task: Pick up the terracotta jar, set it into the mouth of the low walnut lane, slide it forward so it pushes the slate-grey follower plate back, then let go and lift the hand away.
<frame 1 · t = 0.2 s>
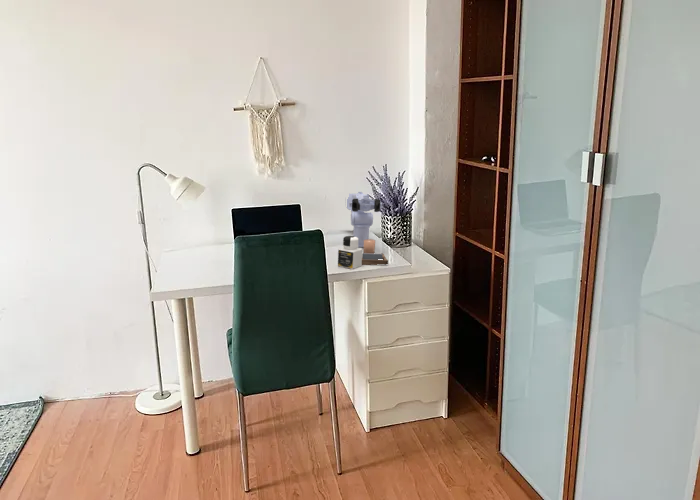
hand: (368, 207, 249), 21 cm above the table, tool horizontal, fingers open, 7 cm apart
terracotta jar: (368, 253, 258), on the table
follower plate: (372, 256, 247), point 1 cm above the table, slide at 0.0 cm
medicine bottle: (349, 266, 236), on the table
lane: (372, 260, 246), on the table
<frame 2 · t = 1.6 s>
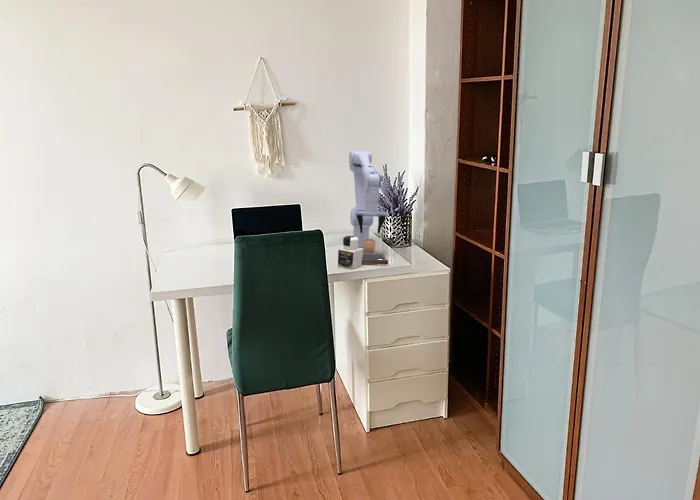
hand: (370, 232, 255), 9 cm above the table, tool pointing down, fingers open, 7 cm apart
nothing on the table moved.
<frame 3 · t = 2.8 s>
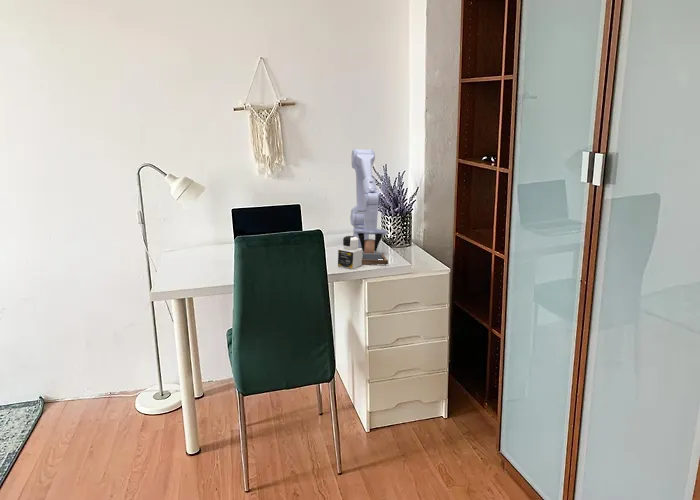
hand: (369, 250, 257), 1 cm above the table, tool pointing down, fingers closed on terracotta jar, 5 cm apart
terracotta jar: (368, 253, 258), on the table, touching gripper
everything else where it was.
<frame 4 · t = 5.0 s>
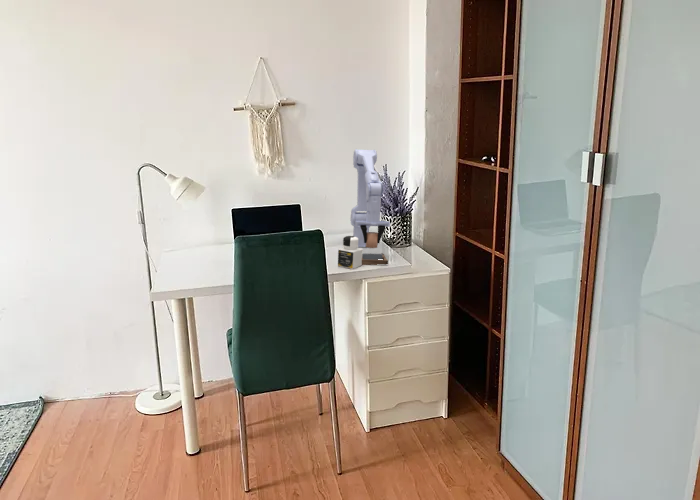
hand: (371, 242, 249), 7 cm above the table, tool pointing down, fingers closed on terracotta jar, 5 cm apart
terracotta jar: (371, 246, 250), point 5 cm above the table, touching gripper
everything else where it was.
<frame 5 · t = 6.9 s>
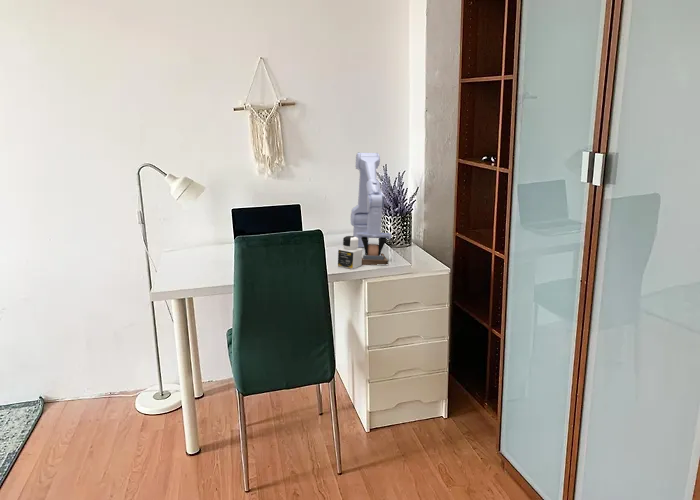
hand: (372, 254, 246), 2 cm above the table, tool pointing down, fingers closed on terracotta jar, 5 cm apart
terracotta jar: (372, 258, 246), point 1 cm above the table, touching gripper
follower plate: (373, 258, 243), point 1 cm above the table, slide at 3.4 cm
everything else where it was.
when the fingers open (2 cm above the table, at t = 7.3 s): terracotta jar stays where it is, resting in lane.
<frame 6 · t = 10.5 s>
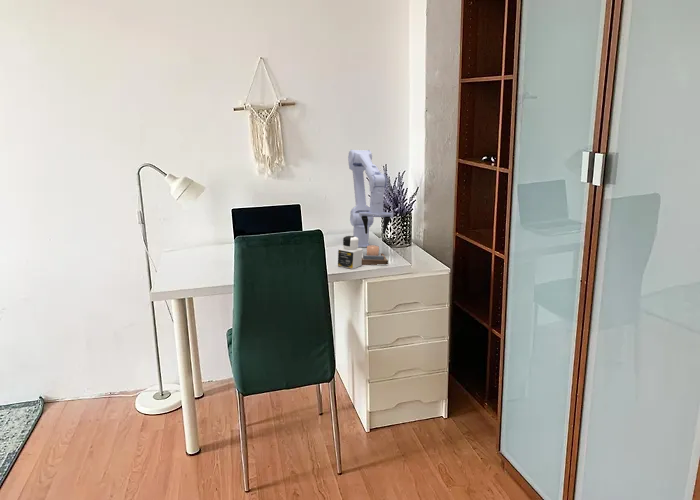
hand: (375, 233, 254), 9 cm above the table, tool pointing down, fingers open, 7 cm apart
terracotta jar: (372, 260, 247), resting in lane
everything else where it was.
at the end: terracotta jar 1.1 cm from the target spot, resting in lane; terracotta jar tilted 0°; follower plate slide at 3.5 cm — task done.
